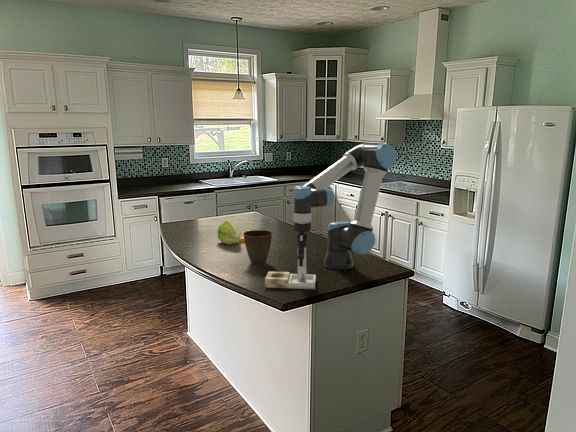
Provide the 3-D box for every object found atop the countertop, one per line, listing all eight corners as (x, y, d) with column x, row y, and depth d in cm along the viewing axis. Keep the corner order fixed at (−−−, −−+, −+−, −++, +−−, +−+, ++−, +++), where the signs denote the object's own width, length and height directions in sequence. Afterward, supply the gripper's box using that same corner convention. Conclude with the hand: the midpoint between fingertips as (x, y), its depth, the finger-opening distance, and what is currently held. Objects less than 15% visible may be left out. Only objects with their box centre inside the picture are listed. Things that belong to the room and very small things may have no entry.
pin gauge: (306, 280, 195) (306, 246, 192) (306, 283, 191) (306, 249, 188) (297, 280, 195) (297, 246, 192) (297, 283, 191) (297, 249, 188)
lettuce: (228, 251, 245) (226, 228, 242) (215, 242, 264) (213, 221, 261) (249, 247, 251) (247, 224, 248) (235, 238, 270) (233, 217, 267)
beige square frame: (289, 280, 198) (289, 272, 197) (287, 288, 188) (287, 279, 187) (268, 279, 199) (268, 271, 198) (265, 287, 189) (264, 278, 188)
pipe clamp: (237, 244, 260) (237, 234, 259) (233, 243, 263) (233, 232, 262) (252, 240, 269) (252, 230, 267) (248, 239, 272) (248, 229, 270)
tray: (315, 279, 199) (315, 274, 198) (314, 289, 187) (314, 283, 186) (290, 278, 200) (290, 273, 199) (287, 288, 188) (287, 282, 188)
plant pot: (238, 264, 222) (237, 234, 218) (255, 257, 234) (254, 228, 231) (261, 268, 214) (261, 238, 211) (277, 261, 226) (277, 232, 223)
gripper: (296, 216, 200) (296, 259, 204) (291, 228, 176) (291, 277, 180) (312, 216, 199) (311, 259, 204) (309, 228, 175) (309, 277, 179)
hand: (302, 268), depth 192 cm, fingers open, 13 cm apart
